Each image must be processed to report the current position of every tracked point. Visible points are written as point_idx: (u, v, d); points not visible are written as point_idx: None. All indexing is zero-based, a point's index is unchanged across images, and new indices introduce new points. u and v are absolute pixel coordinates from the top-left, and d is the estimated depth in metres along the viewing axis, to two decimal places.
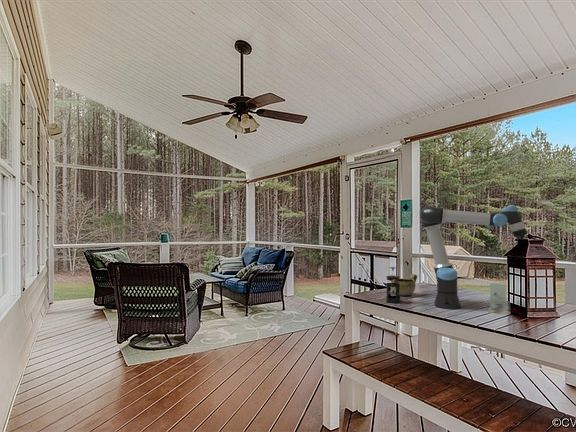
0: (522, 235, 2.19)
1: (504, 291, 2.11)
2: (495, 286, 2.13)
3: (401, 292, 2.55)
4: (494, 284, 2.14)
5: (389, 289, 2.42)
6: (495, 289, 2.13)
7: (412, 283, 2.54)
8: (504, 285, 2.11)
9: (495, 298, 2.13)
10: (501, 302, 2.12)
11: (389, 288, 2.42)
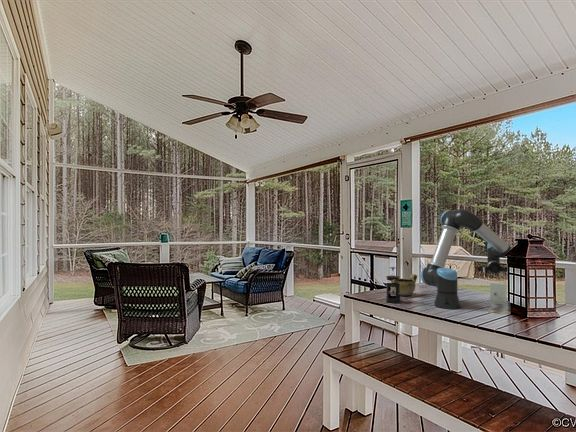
0: None
1: (504, 291, 2.11)
2: (495, 286, 2.13)
3: (401, 292, 2.55)
4: (494, 284, 2.14)
5: (389, 289, 2.42)
6: (495, 289, 2.13)
7: (412, 283, 2.54)
8: (504, 285, 2.11)
9: (495, 298, 2.13)
10: (501, 302, 2.12)
11: (389, 288, 2.42)
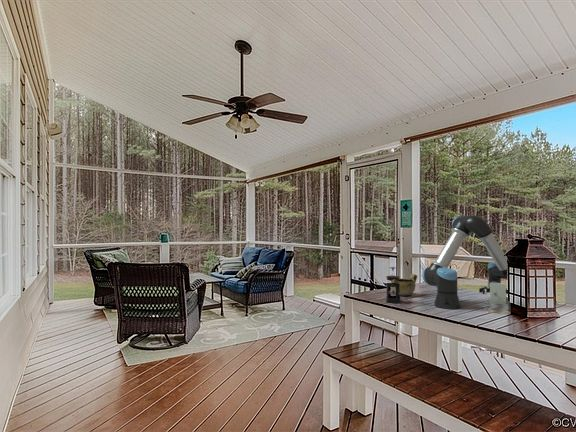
0: None
1: (504, 291, 2.11)
2: (495, 286, 2.13)
3: (401, 292, 2.55)
4: (494, 284, 2.14)
5: (389, 289, 2.42)
6: (495, 289, 2.13)
7: (412, 283, 2.54)
8: (504, 285, 2.11)
9: (495, 298, 2.13)
10: (501, 302, 2.12)
11: (389, 288, 2.42)
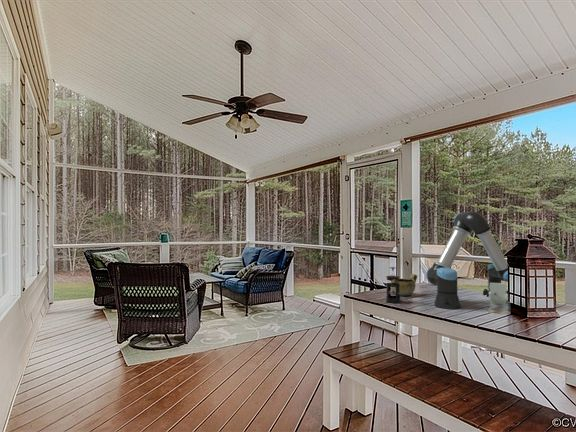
0: None
1: (504, 291, 2.11)
2: (495, 286, 2.13)
3: (401, 292, 2.55)
4: (494, 284, 2.14)
5: (389, 289, 2.42)
6: (495, 289, 2.13)
7: (412, 283, 2.54)
8: (504, 285, 2.11)
9: (495, 298, 2.13)
10: (501, 302, 2.12)
11: (389, 288, 2.42)
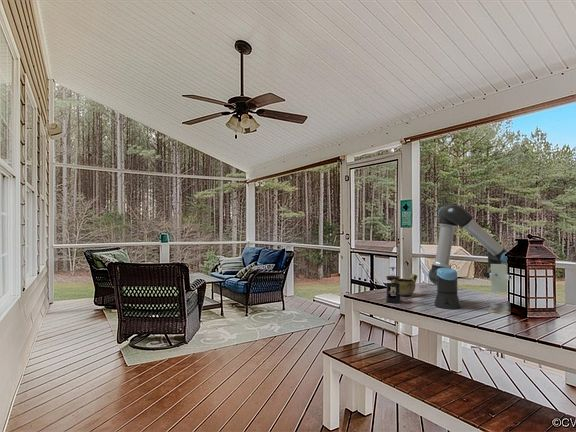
0: None
1: (505, 272, 2.08)
2: (496, 267, 2.10)
3: (401, 292, 2.55)
4: (495, 265, 2.10)
5: (389, 289, 2.42)
6: (496, 270, 2.10)
7: (412, 283, 2.54)
8: (505, 266, 2.08)
9: (496, 279, 2.10)
10: (502, 283, 2.08)
11: (389, 288, 2.42)
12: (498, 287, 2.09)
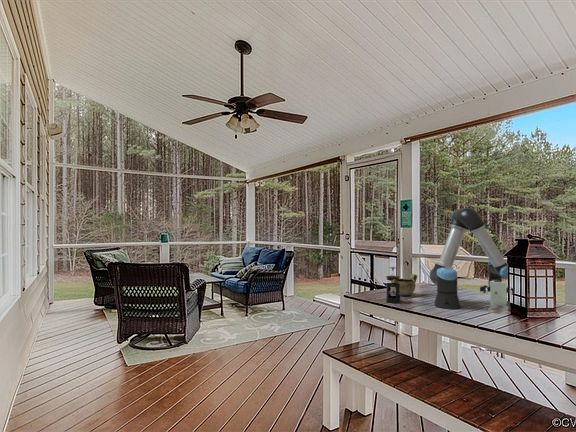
0: None
1: (505, 290, 2.06)
2: (496, 285, 2.08)
3: (401, 292, 2.55)
4: (494, 283, 2.09)
5: (389, 289, 2.42)
6: (495, 288, 2.08)
7: (412, 283, 2.54)
8: (505, 284, 2.06)
9: (495, 297, 2.08)
10: (502, 302, 2.07)
11: (389, 288, 2.42)
12: None
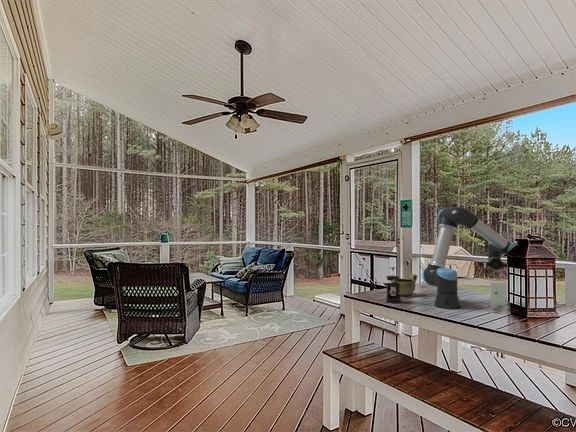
0: None
1: (505, 290, 2.06)
2: (495, 285, 2.08)
3: (401, 292, 2.55)
4: (494, 283, 2.09)
5: (389, 289, 2.42)
6: (495, 288, 2.08)
7: (412, 283, 2.54)
8: (505, 284, 2.06)
9: (495, 297, 2.08)
10: (502, 302, 2.07)
11: (389, 288, 2.42)
12: None
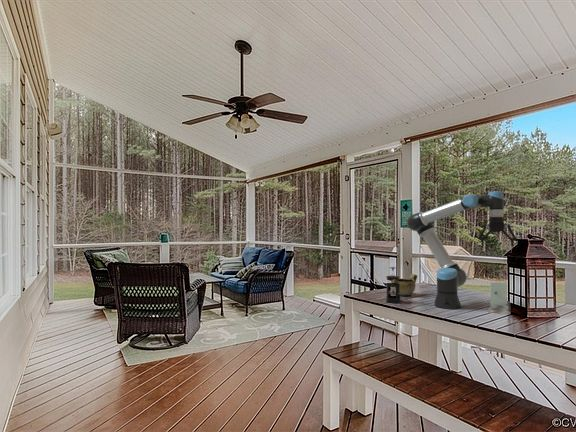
0: None
1: (505, 290, 2.06)
2: (495, 285, 2.08)
3: (401, 292, 2.55)
4: (494, 283, 2.09)
5: (389, 289, 2.42)
6: (495, 288, 2.08)
7: (412, 283, 2.54)
8: (505, 284, 2.06)
9: (495, 297, 2.08)
10: (502, 302, 2.07)
11: (389, 288, 2.42)
12: None
